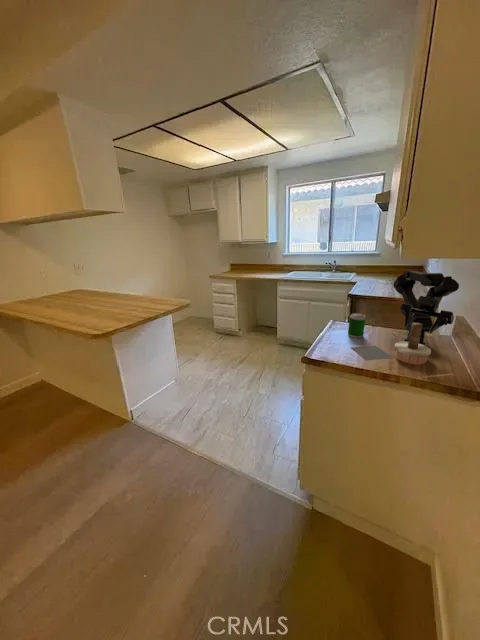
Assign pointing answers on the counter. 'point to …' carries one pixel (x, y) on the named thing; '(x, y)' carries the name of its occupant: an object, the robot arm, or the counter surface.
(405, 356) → the bowl
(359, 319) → the soda can
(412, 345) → the lid
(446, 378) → the counter surface
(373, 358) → the mat
